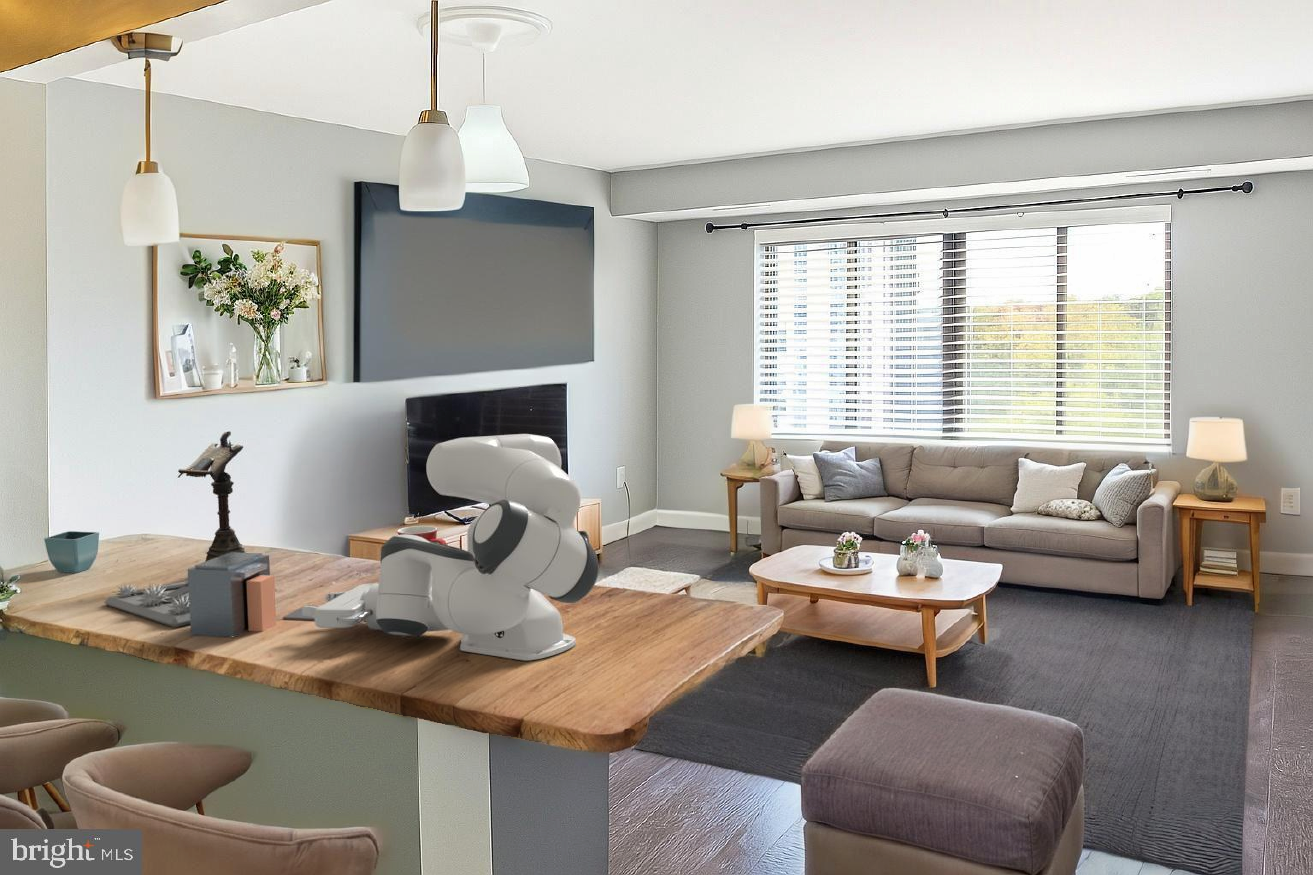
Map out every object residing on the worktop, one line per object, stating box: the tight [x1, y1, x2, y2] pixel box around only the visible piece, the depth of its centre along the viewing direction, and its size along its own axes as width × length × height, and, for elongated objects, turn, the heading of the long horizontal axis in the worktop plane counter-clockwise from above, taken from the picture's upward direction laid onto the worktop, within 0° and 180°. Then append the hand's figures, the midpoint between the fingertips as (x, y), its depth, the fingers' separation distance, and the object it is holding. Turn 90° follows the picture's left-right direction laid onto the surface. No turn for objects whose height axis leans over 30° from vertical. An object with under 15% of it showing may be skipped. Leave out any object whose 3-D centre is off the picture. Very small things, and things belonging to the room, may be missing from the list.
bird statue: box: [177, 431, 246, 562], centre depth 251 cm, size 17×13×35 cm
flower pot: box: [43, 530, 100, 574], centre depth 259 cm, size 9×9×9 cm
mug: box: [396, 525, 448, 545], centre depth 240 cm, size 13×9×14 cm
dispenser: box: [187, 552, 271, 637], centre depth 210 cm, size 10×14×14 cm
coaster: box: [282, 605, 320, 622], centre depth 220 cm, size 9×9×1 cm
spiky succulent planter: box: [104, 577, 191, 629], centre depth 226 cm, size 30×22×7 cm
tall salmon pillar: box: [246, 574, 277, 632], centre depth 209 cm, size 3×5×10 cm, turn 170°
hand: (315, 603), depth 207 cm, fingers open, 8 cm apart
